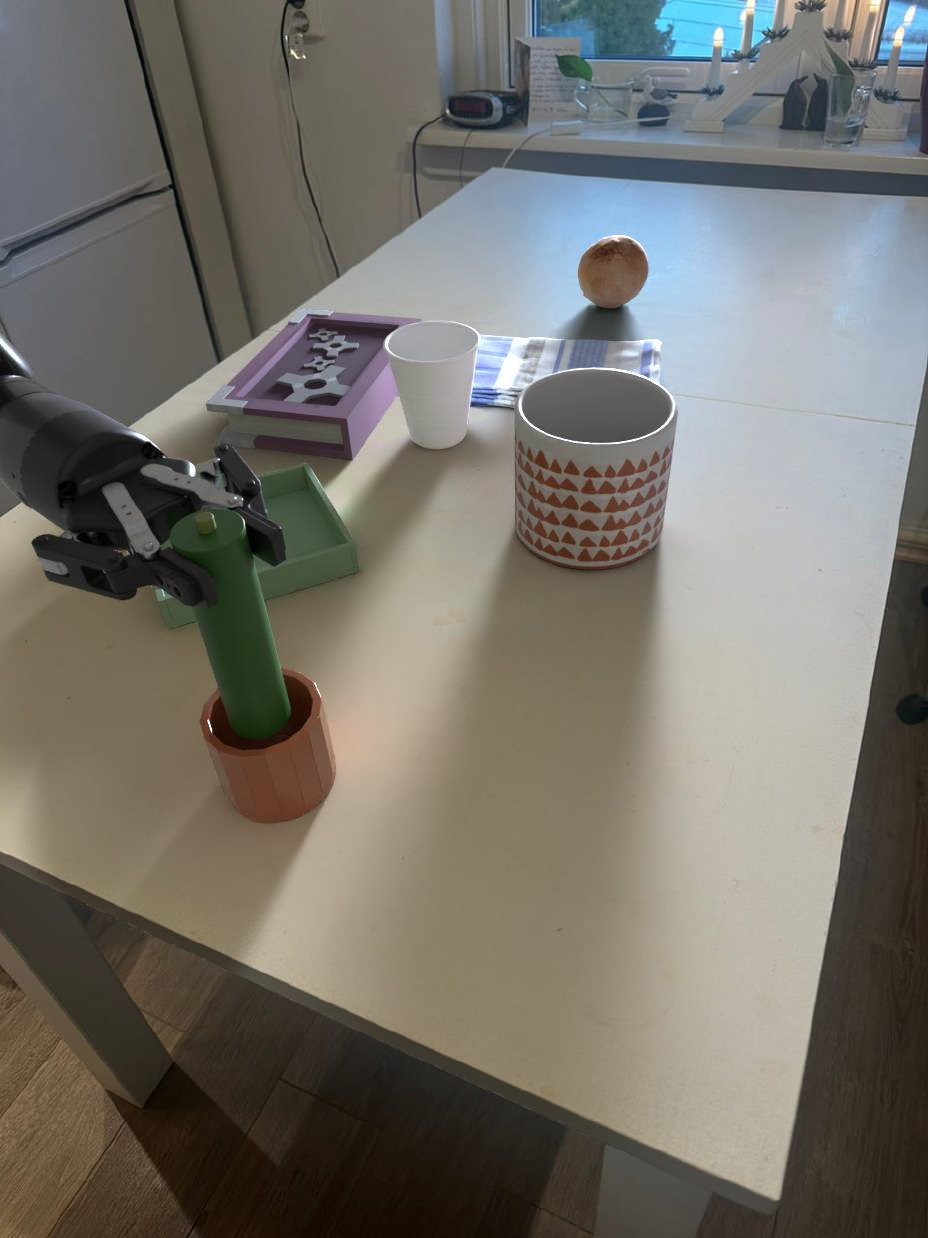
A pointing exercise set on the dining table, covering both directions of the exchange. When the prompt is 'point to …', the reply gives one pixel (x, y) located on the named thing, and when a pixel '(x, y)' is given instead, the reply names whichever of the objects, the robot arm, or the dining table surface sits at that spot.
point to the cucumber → (235, 623)
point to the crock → (274, 757)
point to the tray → (290, 541)
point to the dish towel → (552, 363)
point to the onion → (613, 271)
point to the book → (313, 386)
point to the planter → (592, 466)
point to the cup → (434, 379)
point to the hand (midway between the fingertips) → (245, 570)
